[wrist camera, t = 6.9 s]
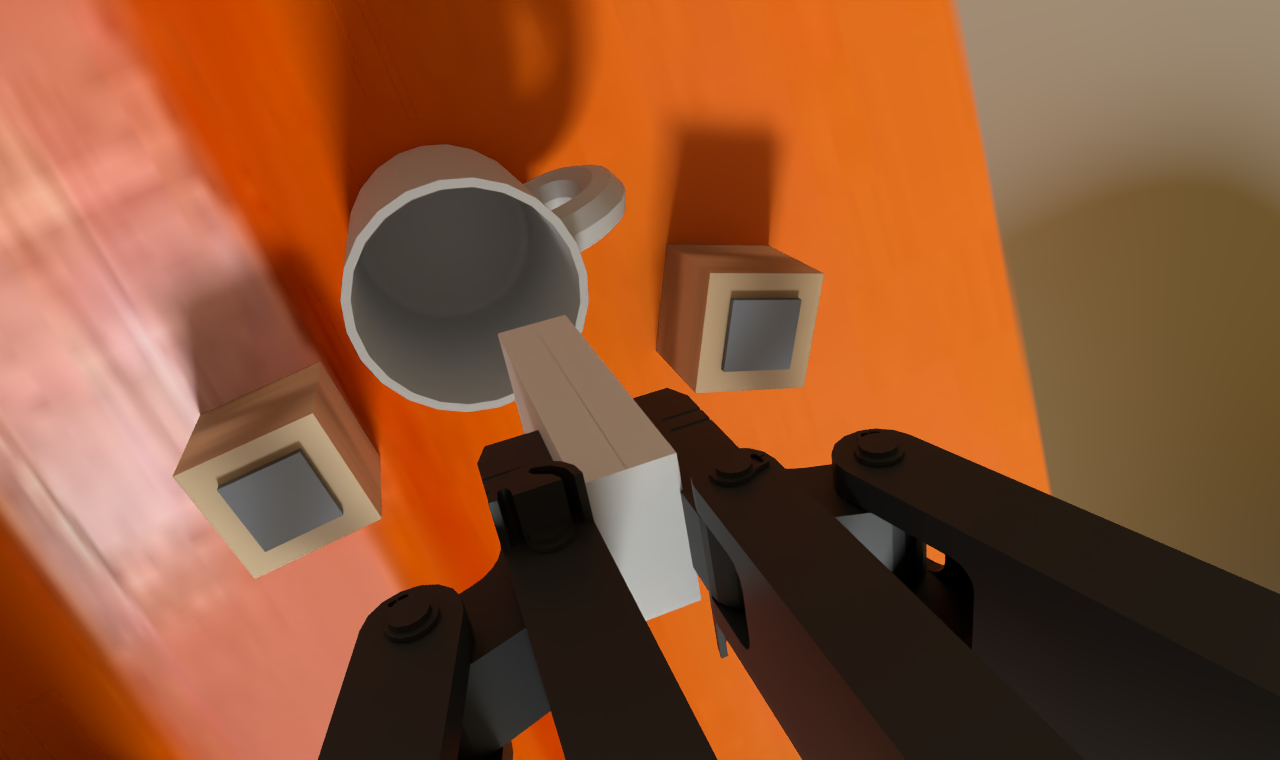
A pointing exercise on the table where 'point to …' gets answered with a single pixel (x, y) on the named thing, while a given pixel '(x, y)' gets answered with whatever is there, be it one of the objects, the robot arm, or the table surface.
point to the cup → (465, 267)
